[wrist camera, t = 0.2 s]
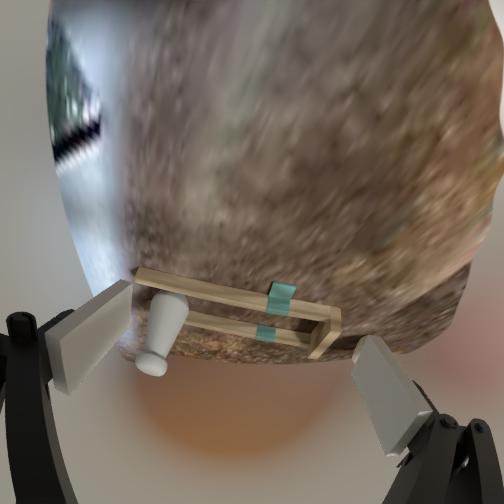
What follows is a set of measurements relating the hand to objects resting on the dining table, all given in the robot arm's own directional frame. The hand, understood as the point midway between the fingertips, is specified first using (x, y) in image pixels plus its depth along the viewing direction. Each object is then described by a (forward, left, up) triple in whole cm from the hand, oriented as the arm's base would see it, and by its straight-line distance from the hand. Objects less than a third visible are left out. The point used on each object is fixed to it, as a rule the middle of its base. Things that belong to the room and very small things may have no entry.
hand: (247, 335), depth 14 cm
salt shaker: (+23, -10, -16) cm, 30 cm away
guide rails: (+23, -1, -15) cm, 28 cm away
